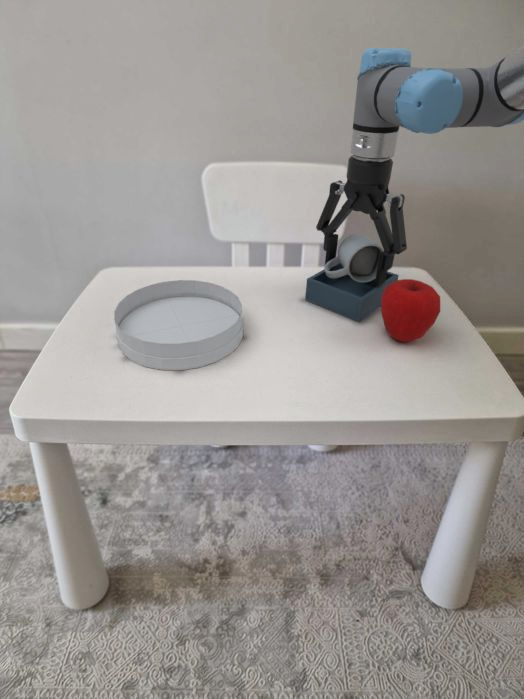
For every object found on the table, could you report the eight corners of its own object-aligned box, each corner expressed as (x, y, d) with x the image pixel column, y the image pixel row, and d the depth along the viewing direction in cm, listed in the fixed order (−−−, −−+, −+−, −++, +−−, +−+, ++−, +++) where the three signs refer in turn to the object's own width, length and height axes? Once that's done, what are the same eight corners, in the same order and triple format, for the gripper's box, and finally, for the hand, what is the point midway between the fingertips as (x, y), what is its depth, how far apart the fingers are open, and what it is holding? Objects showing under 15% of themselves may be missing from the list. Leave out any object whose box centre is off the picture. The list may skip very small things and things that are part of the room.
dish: (262, 353, 76) (263, 328, 73) (128, 383, 69) (123, 357, 66) (220, 294, 93) (219, 272, 90) (109, 314, 86) (104, 290, 83)
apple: (442, 344, 79) (459, 289, 73) (397, 356, 76) (410, 299, 70) (407, 317, 87) (419, 265, 81) (364, 327, 84) (374, 273, 78)
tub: (394, 296, 94) (398, 274, 91) (359, 322, 85) (363, 300, 82) (342, 277, 101) (345, 257, 98) (305, 300, 92) (306, 278, 89)
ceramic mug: (367, 264, 95) (372, 228, 90) (383, 281, 88) (389, 243, 84) (318, 268, 93) (321, 232, 88) (331, 286, 86) (334, 248, 82)
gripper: (303, 149, 81) (295, 264, 94) (426, 173, 69) (398, 301, 81) (326, 143, 86) (316, 253, 98) (446, 164, 73) (417, 286, 86)
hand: (353, 275), depth 90 cm, fingers closed on ceramic mug, 11 cm apart
